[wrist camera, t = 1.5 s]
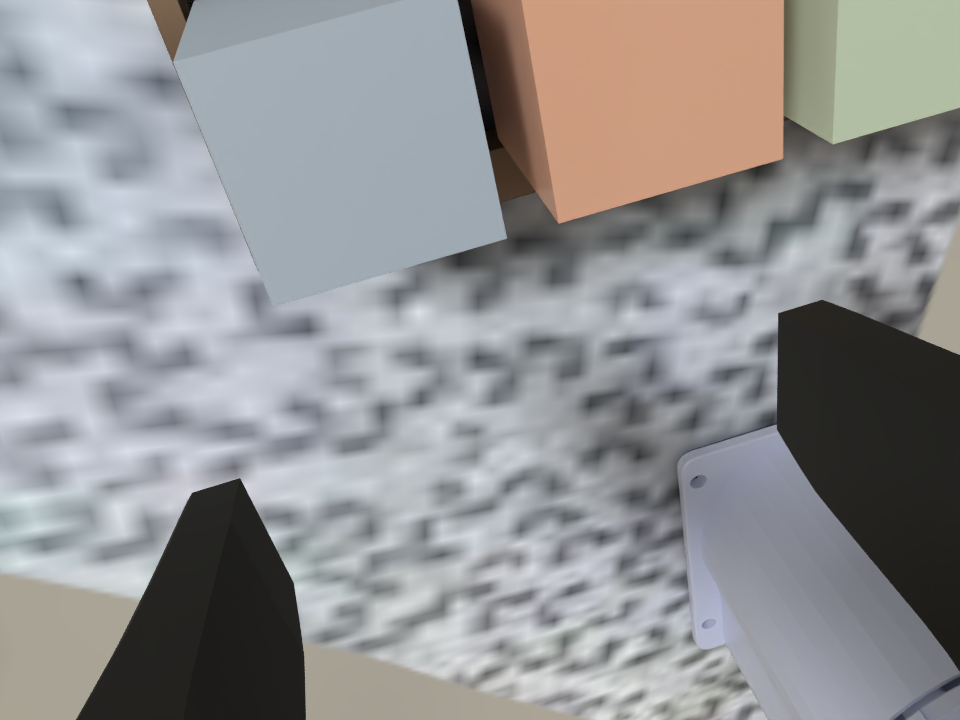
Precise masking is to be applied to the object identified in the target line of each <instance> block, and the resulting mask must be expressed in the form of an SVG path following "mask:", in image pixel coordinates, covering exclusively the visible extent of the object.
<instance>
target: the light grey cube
mask: <svg viewBox="0 0 960 720" xmlns="http://www.w3.org/2000/svg"><path fill="white" fill-rule="evenodd" d="M173 63H174V66H175V68H176V71H177V73H178V76H179V78H180V81H181V83H182V85H183V88H184V90H185V93H186V95H187V98H188V100H189V102H190V105H191V107H192V110H193V112H194V115H195V117H196V120H197V122H198V124H199V127H200V129H201V132H202V134H203V137H204V139H205V142H206V144H207V146H208V149H209V151H210V154H211V156H212V159H213V161H214V164H215V166H216V168H217V171H218V173H219V176H220V178H221V181H222V183H223V185H224V188H225V190H226V193H227V195H228V198H229V200H230V203H231V205H232V207H233V210H234V212H235V215H236V217H237V220H238V222H239V225H240V227H241V229H242V232H243V234H244V237H245V239H246V242H247V244H248V247H249V249H250V251H251V254H252V256H253V259H254V261H255V264H256V266H257V268H258V271H259V273H260V276H261V278H262V281H263V283H264V286H265V288H266V290H267V293H268V295H269V298H270V300H271V303H272V305H273V306H276V305H279V304H283V303H286V302H290V301H293V300H297V299H300V298H304V297H307V296H311V295H314V294H318V293H321V292H324V291H328V290H331V289H335V288H338V287H342V286H345V285H349V284H352V283H356V282H359V281H362V280H366V279H369V278H373V277H376V276H380V275H383V274H387V273H390V272H394V271H397V270H400V269H404V268H407V267H411V266H414V265H418V264H421V263H425V262H428V261H432V260H435V259H438V258H442V257H445V256H449V255H452V254H456V253H459V252H463V251H466V250H470V249H473V248H476V247H480V246H483V245H487V244H490V243H494V242H497V241H501V240H504V239H507V236H506V231H505V226H504V221H503V216H502V212H501V207H500V202H499V197H498V192H497V188H496V183H495V178H494V173H493V168H492V164H491V159H490V154H489V149H488V144H487V140H486V135H485V130H484V125H483V120H482V115H481V111H480V106H479V101H478V96H477V91H476V87H475V82H474V77H473V72H472V67H471V63H470V58H469V53H468V48H467V43H466V38H465V34H464V29H463V24H462V19H461V14H460V10H459V5H458V0H195V1H194V2H193V5H192V8H191V11H190V14H189V17H188V20H187V23H186V26H185V28H184V31H183V34H182V37H181V40H180V43H179V46H178V49H177V52H176V55H175V58H174V61H173Z"/></svg>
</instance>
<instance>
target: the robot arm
mask: <svg viewBox="0 0 960 720" xmlns="http://www.w3.org/2000/svg"><path fill="white" fill-rule="evenodd" d="M677 471H678V481H679V492H680V503H681V514H682V524H683V535H684V546H685V556H686V567H687V578H688V589H689V599H690V610H691V621H692V632H693V638H694V641H695V643H696V645H697V646H698V647H699V648H700V649H711V648H714V647H717V646H720V645H723V644H726V645H727V647H728V649H729V650H730V652H731V654H732V656H733V658H734V659H735V661H736V663H737V665H738V667H739V668H740V670H741V672H742V674H743V676H744V678H745V679H746V681H747V683H748V685H749V687H750V688H751V690H752V692H753V694H754V696H755V697H756V699H757V701H758V703H759V705H760V706H761V708H762V710H763V712H764V714H765V715H766V717H767V719H768V720H960V355H958V354H956V353H953V352H950V351H948V350H946V349H943V348H941V347H938V346H936V345H933V344H931V343H929V342H926V341H924V340H921V339H919V338H917V337H914V336H912V335H909V334H907V333H904V332H902V331H900V330H897V329H895V328H892V327H890V326H888V325H885V324H883V323H880V322H878V321H875V320H873V319H871V318H868V317H866V316H863V315H861V314H858V313H856V312H853V311H851V310H848V309H846V308H843V307H840V306H838V305H835V304H832V303H829V302H826V301H824V300H820V301H817V302H814V303H810V304H807V305H804V306H801V307H797V308H794V309H791V310H788V311H784V312H781V313H778V388H777V424H776V425H773V426H770V427H767V428H763V429H760V430H757V431H754V432H751V433H747V434H744V435H741V436H738V437H734V438H731V439H728V440H725V441H721V442H718V443H715V444H712V445H709V446H705V447H702V448H699V449H696V450H692V451H690V452H688V453H686V454H685V455H683V456H682V457H681V458H680V460H679V462H678V466H677ZM696 476H698V478H696V479H694V480H692V479H693V478H694V477H696ZM304 671H305V669H304V651H303V644H302V636H301V629H300V622H299V615H298V609H297V602H296V596H295V589H294V583H293V581H292V579H291V577H290V575H289V573H288V571H287V569H286V567H285V565H284V563H283V561H282V559H281V557H280V555H279V553H278V552H277V550H276V548H275V546H274V544H273V542H272V540H271V538H270V536H269V534H268V532H267V530H266V528H265V526H264V524H263V522H262V520H261V518H260V516H259V514H258V512H257V511H256V509H255V507H254V505H253V503H252V501H251V499H250V497H249V495H248V493H247V491H246V489H245V487H244V485H243V483H242V481H241V479H240V478H239V479H236V480H233V481H229V482H226V483H223V484H220V485H216V486H213V487H210V488H207V489H203V490H200V491H197V492H194V493H192V494H191V496H190V498H189V500H188V501H187V503H186V505H185V507H184V510H183V512H182V514H181V516H180V518H179V520H178V522H177V524H176V527H175V529H174V531H173V533H172V535H171V537H170V540H169V542H168V544H167V546H166V548H165V550H164V553H163V555H162V557H161V559H160V561H159V563H158V565H157V567H156V570H155V572H154V574H153V576H152V578H151V580H150V582H149V584H148V586H147V588H146V590H145V592H144V594H143V596H142V598H141V600H140V602H139V604H138V606H137V608H136V610H135V612H134V614H133V616H132V618H131V620H130V622H129V624H128V626H127V628H126V630H125V632H124V634H123V636H122V638H121V640H120V642H119V644H118V646H117V648H116V650H115V651H114V654H113V655H112V657H111V659H110V661H109V663H108V664H107V666H106V668H105V669H104V671H103V673H102V675H101V677H100V678H99V680H98V682H97V684H96V686H95V687H94V689H93V691H92V693H91V694H90V696H89V698H88V700H87V701H86V703H85V705H84V707H83V708H82V710H81V712H80V714H79V716H78V717H77V719H76V720H306V712H305V711H306V710H305V709H306V708H305V672H304Z"/></svg>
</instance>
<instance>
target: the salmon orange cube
mask: <svg viewBox="0 0 960 720" xmlns="http://www.w3.org/2000/svg"><path fill="white" fill-rule="evenodd" d="M471 4H472V9H473V14H474V19H475V24H476V29H477V34H478V39H479V44H480V49H481V54H482V59H483V64H484V69H485V74H486V79H487V84H488V89H489V94H490V100H491V105H492V110H493V115H494V120H495V125H496V130H497V135H498V139H499V140H500V142H501V143H502V145H503V146H504V147H505V149H506V150H507V152H508V153H509V154H510V156H511V157H512V159H513V160H514V161H515V163H516V164H517V166H518V167H519V168H520V170H521V171H522V173H523V174H524V176H525V177H526V178H527V180H528V181H529V183H530V184H531V185H532V187H533V188H534V190H535V191H536V192H537V194H538V195H539V197H540V198H541V200H542V201H543V202H544V204H545V205H546V207H547V208H548V209H549V211H550V212H551V214H552V215H553V216H554V218H555V219H556V221H557V222H558V223H563V222H566V221H570V220H573V219H577V218H580V217H584V216H587V215H591V214H594V213H597V212H601V211H604V210H608V209H611V208H615V207H618V206H622V205H625V204H629V203H632V202H635V201H639V200H642V199H646V198H649V197H653V196H656V195H660V194H663V193H667V192H670V191H673V190H677V189H680V188H684V187H687V186H691V185H694V184H698V183H701V182H705V181H708V180H712V179H715V178H718V177H722V176H725V175H729V174H732V173H736V172H739V171H743V170H746V169H750V168H753V167H756V166H760V165H763V164H767V163H770V162H774V161H777V160H781V159H783V85H784V0H471Z"/></svg>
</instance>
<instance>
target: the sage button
mask: <svg viewBox="0 0 960 720" xmlns="http://www.w3.org/2000/svg"><path fill="white" fill-rule="evenodd" d="M957 108H960V0H784V85H783V115H784V116H786V117H787V118H789V119H791V120H792V121H794V122H796V123H797V124H799V125H801V126H802V127H804V128H806V129H808V130H809V131H811V132H813V133H814V134H816V135H818V136H819V137H821V138H823V139H824V140H826V141H828V142H829V143H831V144H836V143H839V142H843V141H846V140H850V139H853V138H857V137H860V136H864V135H867V134H871V133H874V132H877V131H881V130H884V129H888V128H891V127H895V126H898V125H902V124H905V123H909V122H912V121H915V120H919V119H922V118H926V117H929V116H933V115H936V114H940V113H943V112H947V111H950V110H953V109H957Z"/></svg>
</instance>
